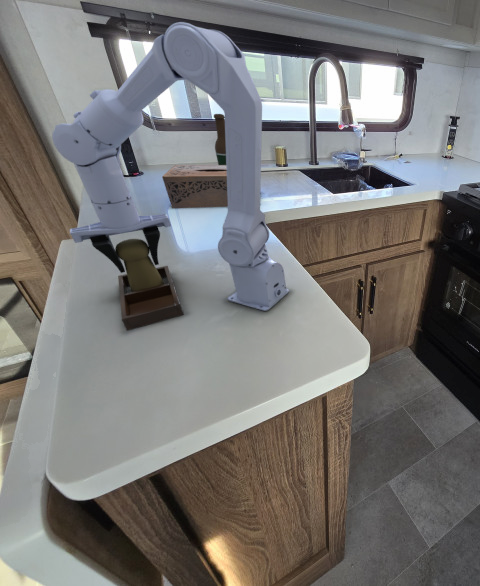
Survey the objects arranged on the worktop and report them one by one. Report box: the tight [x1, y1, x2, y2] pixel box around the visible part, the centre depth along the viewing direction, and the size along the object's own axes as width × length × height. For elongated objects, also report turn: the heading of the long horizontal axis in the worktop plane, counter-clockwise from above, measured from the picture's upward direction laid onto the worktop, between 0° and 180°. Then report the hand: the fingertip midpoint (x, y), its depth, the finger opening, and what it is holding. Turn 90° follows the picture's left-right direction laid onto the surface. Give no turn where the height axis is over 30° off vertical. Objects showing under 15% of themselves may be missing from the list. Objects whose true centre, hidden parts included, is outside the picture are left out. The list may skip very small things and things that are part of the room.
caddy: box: [117, 265, 184, 331], centre depth 65 cm, size 17×9×2 cm, turn 36°
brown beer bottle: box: [213, 113, 226, 165], centre depth 127 cm, size 8×8×24 cm
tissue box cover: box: [161, 164, 228, 209], centre depth 113 cm, size 26×14×10 cm, turn 104°
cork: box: [114, 238, 166, 292], centre depth 65 cm, size 6×6×11 cm
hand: (139, 266), depth 65 cm, fingers closed on cork, 5 cm apart
